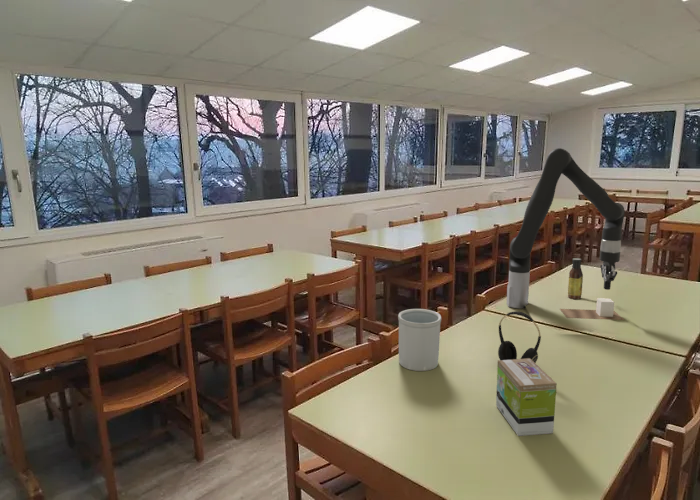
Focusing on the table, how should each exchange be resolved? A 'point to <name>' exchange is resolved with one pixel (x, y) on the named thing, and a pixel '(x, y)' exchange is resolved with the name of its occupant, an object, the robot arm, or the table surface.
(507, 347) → the headphones
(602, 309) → the white rectangular block
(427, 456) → the table surface
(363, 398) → the table surface
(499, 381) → the tea box
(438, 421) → the table surface
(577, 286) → the sauce bottle
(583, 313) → the board
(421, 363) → the utensil holder
